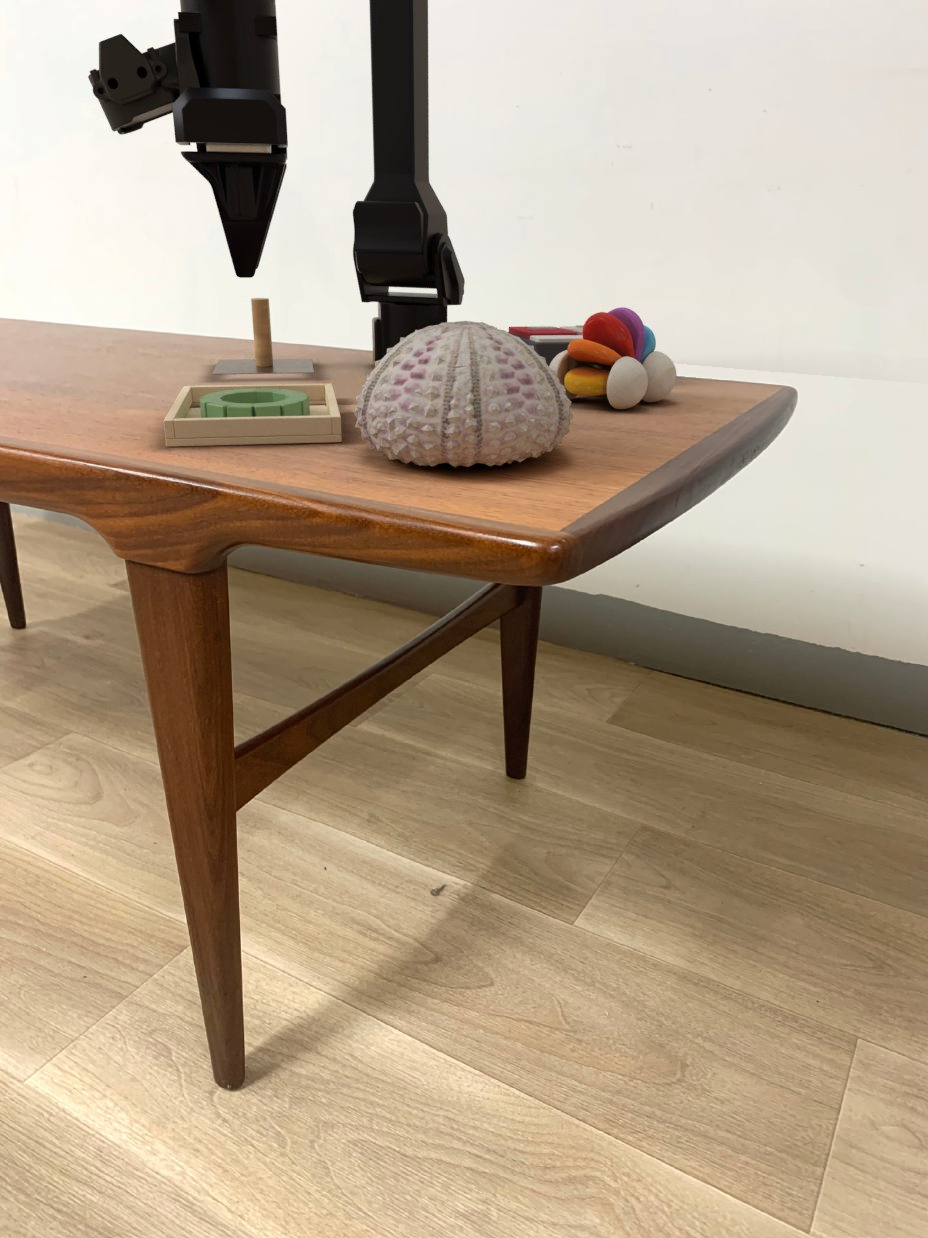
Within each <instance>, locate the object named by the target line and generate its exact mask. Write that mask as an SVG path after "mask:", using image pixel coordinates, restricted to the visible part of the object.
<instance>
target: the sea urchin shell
mask: <svg viewBox="0 0 928 1238" xmlns="http://www.w3.org/2000/svg"><path fill="white" fill-rule="evenodd" d="M508 332H509V331H506V330H505V329H500V328H498V327H496V326H494V325H490V324H488V323H486V322H483V321H481V322H477V321H471V320H459V321H447V322H445V323H441V324H439V325H434V326H428V327H426V328H423V329H420V330H415V332H413V333H411V334H410V335H408V336H407V337H405V338H403V337H401V338H400V342H399V343H398V344H396V345H395V346H394V347H392V348H388V349H387V354H386V355H385V356H384V357H383V358H382V359H381V360H378V361H375V363H374V367H373V369H372V370H371V371H370V373H369V374H367V375H366V379H365V382H364V384H362V385H361V388H362V389H361V391H360V393H359V394H358V395H357V396H356V397H355V400H356V403H357V405H356V407H355V408H354V409H353V410H352V413H353V415H354V416H355V418H356V422H355V426H354V428H355V429H357V430H358V431H359V432H360V434H361V440H362V441H363V442H365V443H367V444H368V446H369V450H370V451H375V452H378V453H379V455H380V457H387V459H388V460H390V461H393V460H394V461H395V460H399V461H400V462H401V463H404V464H410V463H412V464H414V465H418V467H419V466H424V467H427V466H430V467H435V466H437V465H440V464H449V465H450V466H452V467H453V468H457V467H459V466H462V467H466V468H469V467H471V466H473V465H475V464H483V465H486V466H488V467H492V466H494V465H495V466H500V467H501V466H503V465H504V464H505V463H507V464H509V465H511V464H512V463H513V462H514V461H515V462H518V463H522V462H524V461H525V460H526V459H530V458H535V459H537V458H538V457H542V455H544V454H545V453H551V452H552V451H553V449H554V448H557V445H562V444H563V438H564V437H565V436H566V435H568V434H569V433H570V432H571V431H570V424H571V421H572V419H573V418H574V416H573V413H572V411H571V405H572V401H571V400H569V399H568V398H567V397H568V396H566V389H564V388H565V386H563V385H562V384H560V381H559V379H558V378H557V377H556V371H554V370H552V369H550V367H549V366H548V365H547V363H546V360H545V358H544V357H541V356H539V355H538V354H537V353H536V351H535V350H534V346H530V345H527V344H526V343H525V342H524V341H522V340H521V339H520V337H517V336H514V335H512V334H510V333H508Z"/></svg>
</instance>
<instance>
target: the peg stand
mask: <svg viewBox="0 0 928 1238" xmlns="http://www.w3.org/2000/svg"><path fill="white" fill-rule="evenodd" d="M250 302H251V318H252V332H253V333H252V334H253V345H254V347H253V348H254V358H253V359H251V358H248V359H246V358H245V359H242V358H241V359H238V358H237V359H218V360H217V363H216V364H215V367H214V369H213V371H212V374H211V375H267V374H268V375H269V374H270V375H271V374H272V375H276V374H277V375H278V374H279V375H280V374H314V373H315V370H314V363H313V359H312V358H274V357H273V356H274V355H273V341H272V339H273V338H272V327H271V324H272V323H271V312H270V311H271V310H270V298H269V297H252V298H250Z"/></svg>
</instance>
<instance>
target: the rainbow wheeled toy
mask: <svg viewBox="0 0 928 1238" xmlns="http://www.w3.org/2000/svg"><path fill="white" fill-rule="evenodd" d="M583 325H584V326H583V331H582V334H583V339H577V340H573V341H572V342H570V344H569V345H568V348H567V350H565V351H563V352H561V353H559V354H558V355H557V356H556V357H555V358H554V359H553V360H552V362H551V363H550V366H549V367H550V369H552V370H554V371H556V377H557V378H558V379H559V381H560V384H562V385H563V386H565V388H564V389H566V396H568V397H567V398H568V399H569V400H570V401H571V400H573V399H575V398H576V397H577V396H584V397H585V396H586V397H587V396H588V397H596V396H604V395H606V397H607V401H608V402H609V404H610V406H611V407H612V408H613V409H616V410H627V409H631V408H633V407H634V406H637V404H638V403H640V402H641V400H643V402H646V403H655V402H659V401H661V400H664V399H665V398H667V396H669V395H670V393H671V392H672V391H673V389H674V388H675V385H676V382H677V377H678V376H677V375H678V374H677V369H676V366H675V363H674V362H673V360H672V358H670V357H669V356H668V355H667V354H665V353H664V352H662V351H658V350H656V346H657V340H656V335H655V334H654V331H653V330H652V328H650V327H649V326H647V325H645V324H644V322H643V320H642V318H641V317H640V316H639V315H638V314H637V313H636V311H634V310H632V309H631V308H629V307H624V306H623V307H621V306H620V307H617V308H614V309H611V310H609V311H608V312H605V311H599V312H596V313H594V314H592V315H590V316H589V317H588V318H587V319H586V321H585V322H584V323H583ZM655 350H656V351H655Z"/></svg>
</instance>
